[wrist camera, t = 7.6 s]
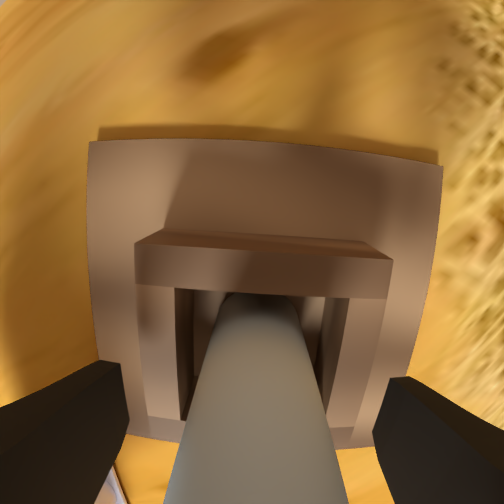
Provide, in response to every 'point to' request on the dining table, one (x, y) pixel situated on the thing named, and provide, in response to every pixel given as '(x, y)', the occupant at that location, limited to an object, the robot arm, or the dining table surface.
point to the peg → (256, 415)
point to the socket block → (257, 264)
